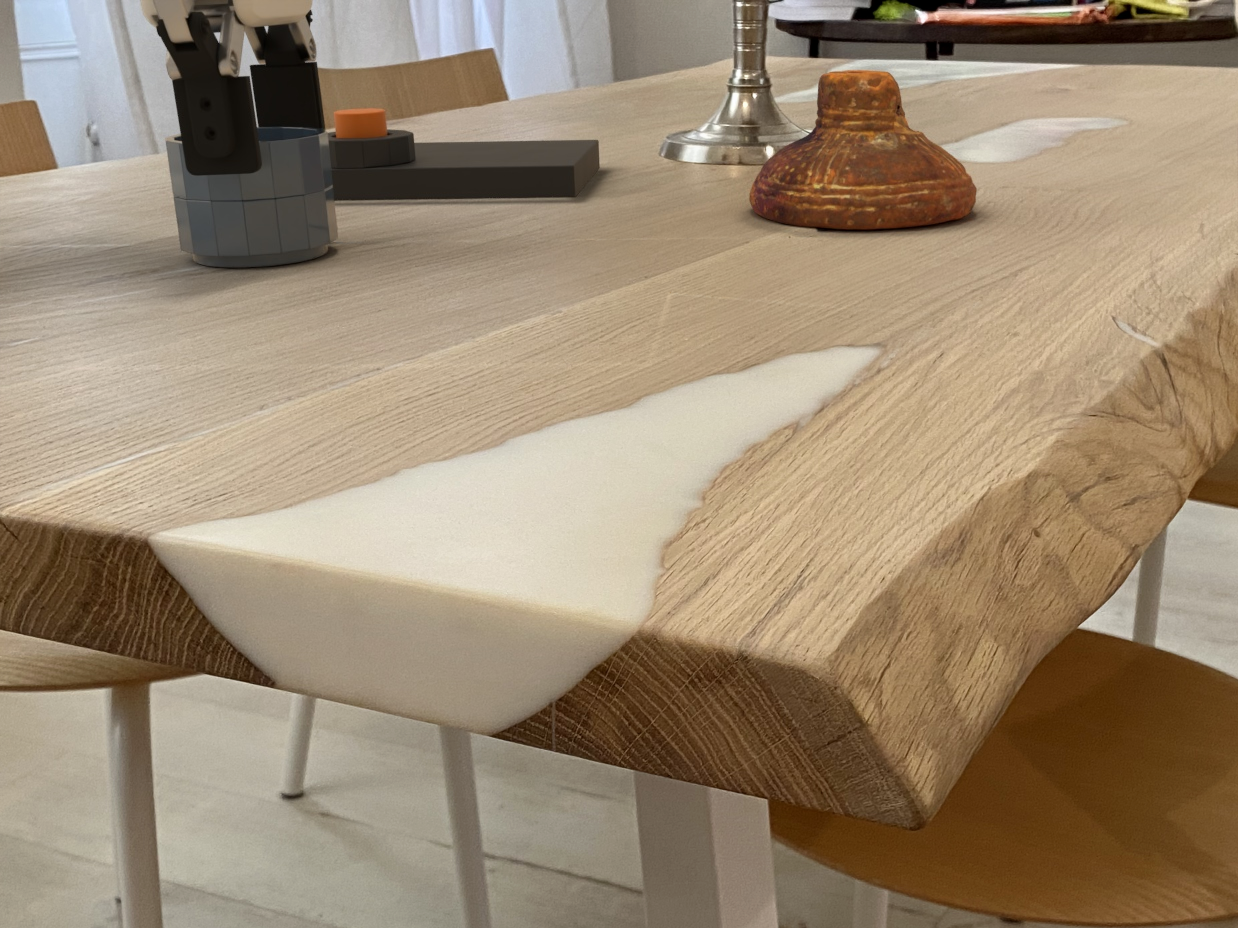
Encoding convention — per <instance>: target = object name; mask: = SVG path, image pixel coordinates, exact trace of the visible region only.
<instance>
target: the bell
mask: <svg viewBox="0 0 1238 928" xmlns="http://www.w3.org/2000/svg"><path fill="white" fill-rule="evenodd" d="M817 84H818V85H817V97H816V98H817V99H816V107H817V110H816V115H817V118H816V119H815V122H814V124H815V126H814V128H813V130H812V131H811V132H810V133H809V134H807V135H805V136H804V137H802V138H800V139H797V140H794V141H793V142H790V143H789V144H787V145H785V146H784V147H783V148H780V149H779V150H778V151H777V152H775V153H774V154H773V155H772V156H770V157H769V158H768V159H767V160H766V161H765V163H764V164H763V165H762V167H761V168H760V171H759V172H758V173H757V175H756V177H755V179H754V181H753V183H752V184H751V188H750V190H749V198H748V199H749V200H748V201H749V203H750V206H751V208H752V210H753V211H754V212H755V213H756V214H757V215H759V216H761V217H763V218H764V219H766V220H769V221H773V222H777V223H780V224H783V225H785V224H786V225H788V226H789V225H791V226H796V227H806V228H818V229H819V228H820V229H831V230H833V229H834V230H879V229H883V230H885V229H900V228H913V227H920V226H929V225H936V224H939V223H940V224H941V223H946V222H950V221H954V220H960V219H962V218H963V217H966V216H967V215H969V214H971V212H972V211H973V209H974V207H975V205H976V202H977V199H976V198H977V191H978V189H977V186H976V185H975V183H974V182H973V178H972V176H971V175H970V174H969V173H968V172H967V170H966V167H965V166H964V165H963V164H962V163H961V161H959V160H958V159H957V158H956V157H955V156H953V155H952V154H951V153H950V152H948V151H947V150H946V149H944V148H943V147H942V146H940V145H938V144H936V143H935V142H933V141H931V140H930V139H928V137H926V135H925V134H924V132H922V131H920V130H914V129H913V128H911V127H910V126H909V123H908V120H907V118H906V113H905V110H904V108H903V106H902V102H903V101H902V96H901V90H900V86H899V84H898V82H897V80H896V79H895V77H894V76H893V74H891V72H889V71H883V70H870V69H869V70H867V69H866V70H865V69H855V70H854V69H852V70H851V69H849V70H848V69H847V70H835V71H829V72H827V73H822V75H821V76H820V77H819V80H818V83H817Z"/></svg>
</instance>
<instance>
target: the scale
mask: <svg viewBox="0 0 1238 928" xmlns="http://www.w3.org/2000/svg"><path fill="white" fill-rule="evenodd" d="M327 133H328V142H329V152H330V161H331V171H332V181H333V186H332V187H333V191H334V201H337V202H338V201H402V200H403V201H407V200H408V201H409V200H410V201H411V200H416V201H417V200H477V199H479V200H481V199H483V200H484V199H485V200H486V199H488V200H489V199H544V198H545V199H547V198H548V199H550V198H551V199H552V198H553V199H554V198H558V199H559V198H562V199H563V198H576V197H577V196H578V195H579V193H581V191H582V190H583V189H584V188H585V186H586V185H587V184H588V183H589V182H590V180H591V179H592V178H593V177H594V176H595V175H596V173H597V172H598V170H600V168H601V167H600V166H601V165H600V141H599V139H565V140H564V139H562V140H561V139H560V140H559V139H557V140H555V139H554V140H552V139H551V140H501V141H500V140H498V141H439V142H437V141H436V142H435V141H434V142H415V136H414V135H415V134H414V132H412V131H409V130H405V129H389V128H387V136H381V137H369V138H336V131H330V132H327Z"/></svg>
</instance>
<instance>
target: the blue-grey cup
mask: <svg viewBox="0 0 1238 928" xmlns="http://www.w3.org/2000/svg"><path fill="white" fill-rule="evenodd" d="M325 130H326V129H325ZM325 130H324V129H320V128H312V127H292V126H274V127H258V126H257V131H258V138H259V145H260V152H261V159H262V166H261V168H260V170H258V171H257V172H254V173H250V174H226V175H201V176H195V175H192V174H190V173H189V172H188V171H187V169H186V164H185V158H184V152H183V146H182V139H181V133H177V134H174V135H170V136H167V137H165V139H164V140H165V148H166V155H167V162H168V170H169V173H170V174H169V175H170V183H171V190H172V196H173V197H172V198H173V203H174V211H175V217H176V224H177V231H178V238H179V247H180V251H182V252H184V253H188V254H191V255H192V260H193V262H195V263H196V264H199V265H202V266H207V267H213V268H228V269H229V268H230V269H231V268H232V269H233V268H235V269H236V268H237V269H241V268H245V269H246V268H263V267H276V266H283V265H290V264H296V263H302V262H306V261H310V260H314V259H318V258H320V257H322V256H324V255H326V254H327V253H328V252H329V245H331V244H332V243H334V242H336V241H337V240H338V239H339V231H338V221H337V213H336V211H337V210H336V202H335V201H334V191H333V187H332V186H333V181H332V171H331V161H330V152H329V142H328V133H329V132H328V131H327V130H326V131H325Z"/></svg>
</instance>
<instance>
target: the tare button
mask: <svg viewBox="0 0 1238 928" xmlns="http://www.w3.org/2000/svg"><path fill="white" fill-rule="evenodd" d="M333 119H334V130H335V131H334V132H336V138H369V137H381V136H387V129H388V124H387V114H386V110H385V109H384V108H370V107H369V108H367V107H366V108H347V109H339V110H335V111H334V112H333Z"/></svg>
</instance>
